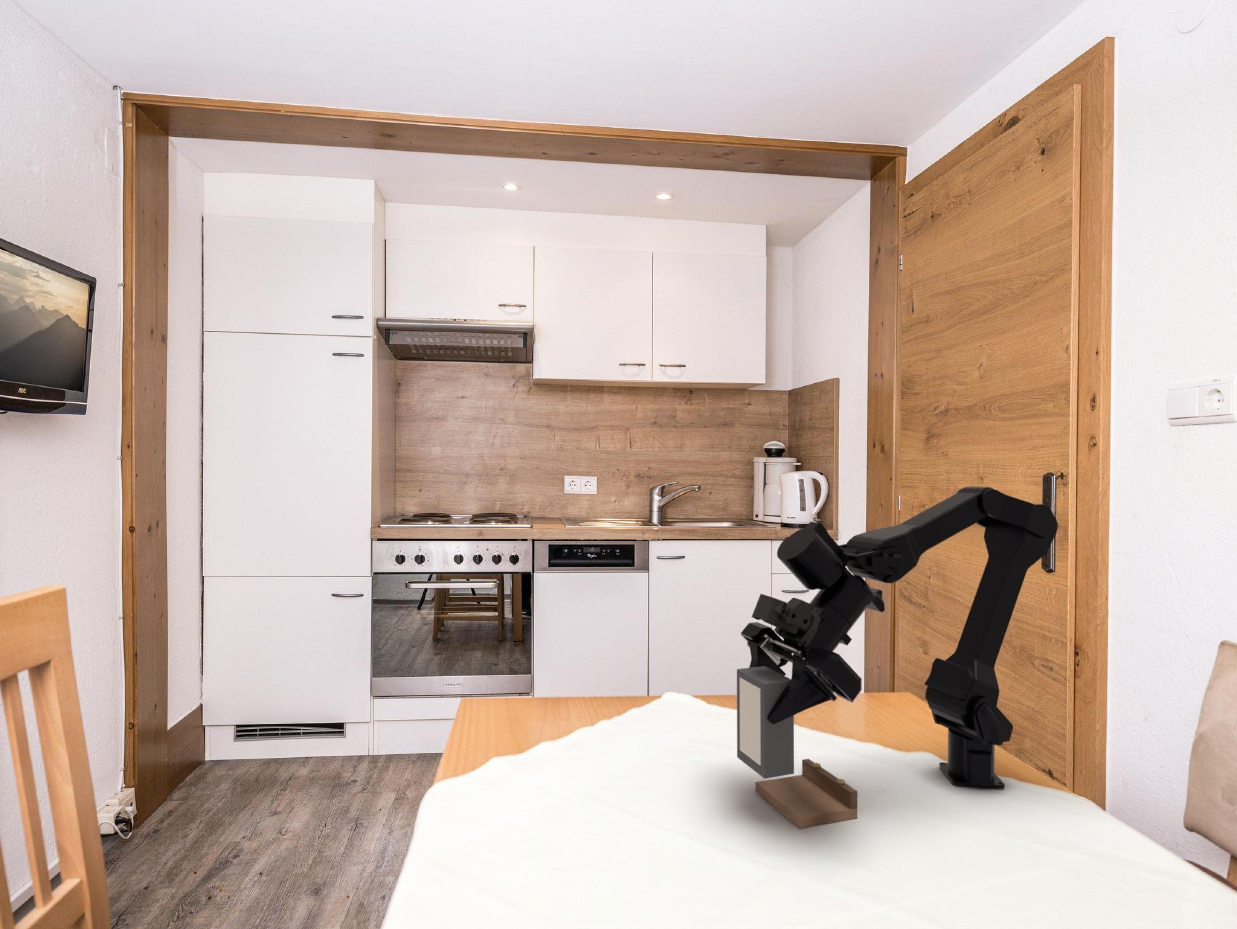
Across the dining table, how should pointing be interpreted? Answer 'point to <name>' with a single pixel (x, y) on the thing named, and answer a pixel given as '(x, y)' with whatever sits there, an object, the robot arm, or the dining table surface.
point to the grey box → (763, 723)
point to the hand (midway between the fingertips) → (754, 712)
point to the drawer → (810, 796)
